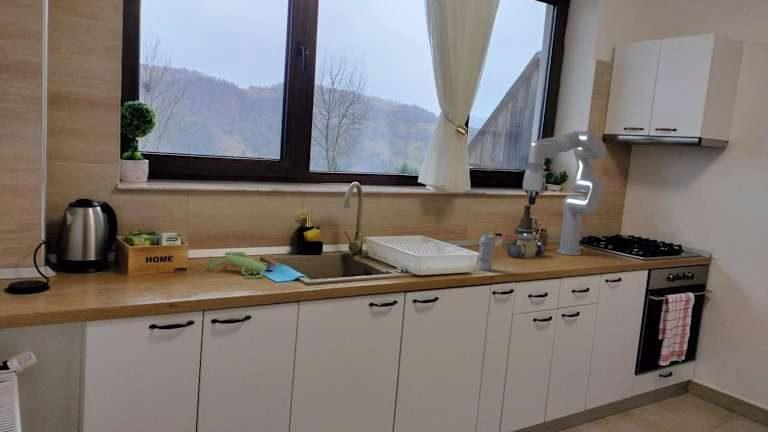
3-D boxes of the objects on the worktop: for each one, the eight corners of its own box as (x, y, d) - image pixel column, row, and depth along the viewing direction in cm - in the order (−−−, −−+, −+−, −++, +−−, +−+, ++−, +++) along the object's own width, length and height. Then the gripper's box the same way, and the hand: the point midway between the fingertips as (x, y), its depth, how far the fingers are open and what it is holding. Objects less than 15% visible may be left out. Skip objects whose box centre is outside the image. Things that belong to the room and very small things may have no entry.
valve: (533, 253, 311) (534, 237, 310) (543, 256, 305) (545, 239, 304) (506, 255, 299) (507, 238, 298) (516, 258, 294) (518, 241, 292)
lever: (533, 239, 300) (533, 234, 300) (506, 240, 292) (506, 235, 291) (527, 237, 304) (527, 233, 304) (500, 238, 295) (500, 233, 295)
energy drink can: (493, 270, 262) (497, 236, 261) (485, 271, 258) (488, 237, 257) (483, 267, 267) (486, 234, 265) (474, 268, 263) (477, 235, 261)
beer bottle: (531, 251, 319) (536, 206, 316) (517, 249, 319) (522, 205, 316) (528, 248, 327) (533, 205, 324) (514, 247, 327) (519, 204, 324)
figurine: (232, 261, 242) (232, 248, 242) (285, 272, 230) (286, 258, 230) (199, 269, 226) (199, 254, 225) (254, 281, 214) (255, 266, 213)
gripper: (553, 168, 287) (549, 206, 290) (525, 166, 297) (521, 202, 299) (546, 168, 282) (542, 207, 284) (518, 166, 291) (514, 203, 294)
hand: (531, 204), depth 292 cm, fingers closed
